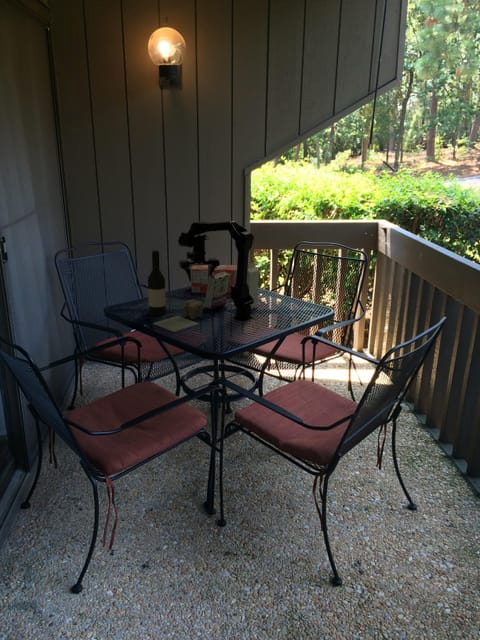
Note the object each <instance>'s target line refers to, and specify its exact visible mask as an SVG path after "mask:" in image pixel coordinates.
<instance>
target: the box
mask: <svg viewBox="0 0 480 640" xmlns="http://www.w3.org/2000/svg"><path fill="white" fill-rule="evenodd" d="M216 267H217V268H215V269H214V271H213V273H212V275H213V274H217V273H220V272H225V273H228V274H230V280H229V286H228V292H227V294H231V286H234V285H235V284H236V275H237V264H235V265H234V264H233V265H232V264H220V266H216ZM190 283H191V284H190V285H191V293H192V294H193V293H194V294H206V293H207V286H208V265H196V266H191V282H190Z"/></svg>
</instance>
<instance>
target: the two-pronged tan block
mask: <svg viewBox="0 0 480 640" xmlns="http://www.w3.org/2000/svg"><path fill="white" fill-rule="evenodd" d="M196 315H197V317H198V318H202V317H203V301H200V300H197V299H190V300H186V301H183V317H185V318H187V317H189V318H190V319H191V320H194V319H196Z"/></svg>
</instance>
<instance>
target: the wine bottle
mask: <svg viewBox="0 0 480 640" xmlns="http://www.w3.org/2000/svg"><path fill="white" fill-rule="evenodd" d="M151 262H152V264H151V265H152V266H151V267H152V269H151V272H150V273H149V275H148V277H147V289H148V290H147V291H148V292H147V293H148V294H147V295H148V296H147V297H148V314H150V316H153V317H155V316H159V317H160V316H163V315H166V314H167V310H166V309H167V308H166V305H167V304H166V303H167V302H166V279H165V276H164V274H163V273H162V272H161V270H160V251H159V249H152V251H151Z"/></svg>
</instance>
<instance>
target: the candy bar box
mask: <svg viewBox="0 0 480 640" xmlns="http://www.w3.org/2000/svg"><path fill="white" fill-rule="evenodd" d="M229 280H230V274H228V273H225V272H220V273H217V274H213V275H210V276H209V280H208V286H207V293H205V300H204V307H206V308H207V309H210V310H214V309H217V308H219V307H218V306H220V307H222V306H225V305H226V304H227V297H228V293H227V292H228V286H229ZM224 304H225V305H224ZM221 305H222V306H221ZM216 307H217V308H216Z"/></svg>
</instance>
